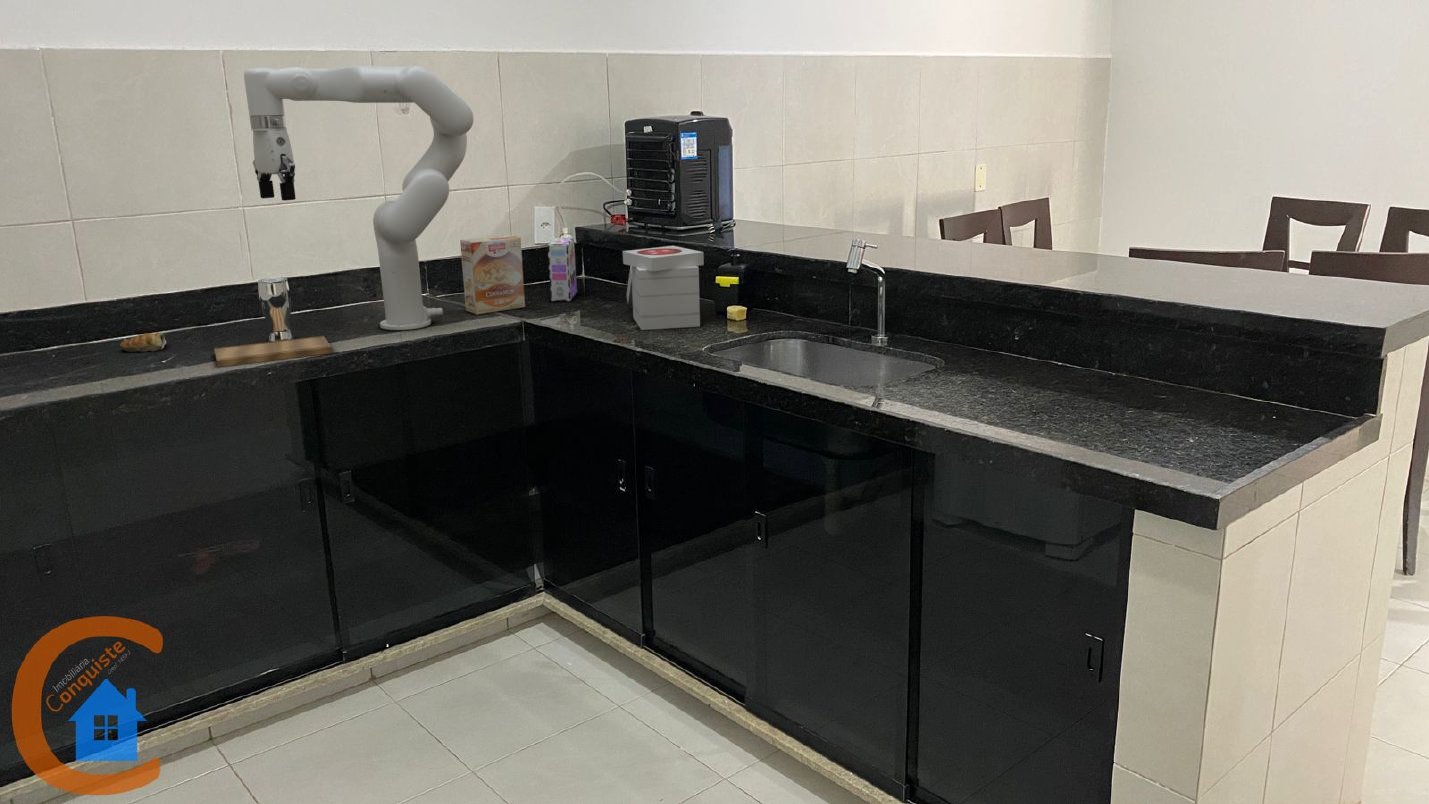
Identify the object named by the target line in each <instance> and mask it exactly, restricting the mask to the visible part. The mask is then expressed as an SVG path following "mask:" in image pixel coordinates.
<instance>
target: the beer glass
mask: <svg viewBox="0 0 1429 804" xmlns="http://www.w3.org/2000/svg"><path fill="white" fill-rule="evenodd" d="M257 285H258V286H257V287H258V288H257V289H258V298H259V304H260V307H261V310H262V313H263V317H264V320H265V322H266V327H267V342H275V341H284V340H293V339H296V338H295V335H294V332H293V329H292V296H291V290H290V286H289V282H288V277H282V276H281V277H278V276H277V277H267V278H261V279H258V280H257Z"/></svg>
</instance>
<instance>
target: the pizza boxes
mask: <svg viewBox="0 0 1429 804" xmlns="http://www.w3.org/2000/svg"><path fill="white" fill-rule="evenodd" d="M622 264H623V265H626V266H630V268H629V273H628V281H627V287H626V301H627V305H628V306H629V305H632V315H633V318H632V319H633V320H634V321H635V323H636V325H637V326H638V328H639V329H640V331H648V330H665V329H681V328H695V327H701V311H700V309H701V308H700V269H699V266H704V264H705V261H704V251H699V250H696V249H695V250H694V249H690V248H685V247H681V246H677V245H666V246H658V247H650V248H639V249H632V250H631V249H630V250H622Z"/></svg>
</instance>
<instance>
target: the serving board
mask: <svg viewBox="0 0 1429 804" xmlns="http://www.w3.org/2000/svg"><path fill="white" fill-rule="evenodd" d="M332 348H333V347H332V345H331V344H330V343H329V341H328V340H327V338H325V336H324V335H320V336H312V337H311V336H309V337H302V338H295V339H293V340H284V341H275V342H268V341H267V342H259V343H250V344H241V345H233V346H225V347H218V348H217V347H216V348H215V347H214V348H213V351H214V356H215V360H216V364H217V368H220V367H221V368H223V367H229V366H237V365H238V366H239V365H245V364H254V363H262V362H270V361H278V360H279V361H280V360H288V359H294V358H295V359H296V358H304V357H311V356H312V357H313V356H319V355H329V354H333V349H332Z"/></svg>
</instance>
